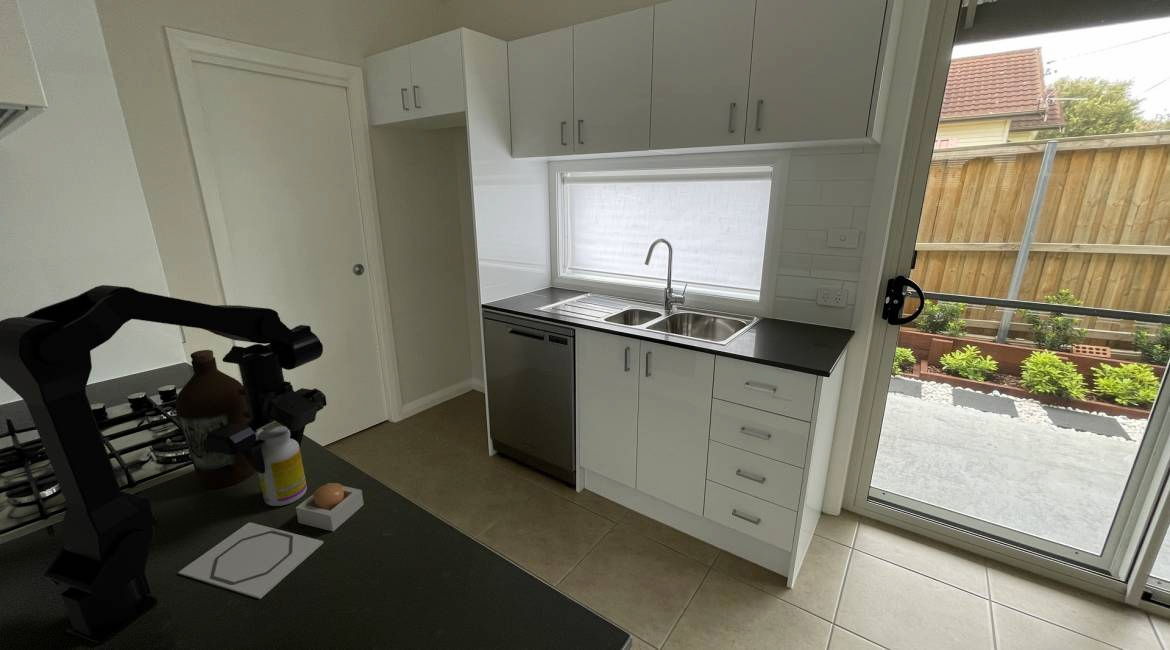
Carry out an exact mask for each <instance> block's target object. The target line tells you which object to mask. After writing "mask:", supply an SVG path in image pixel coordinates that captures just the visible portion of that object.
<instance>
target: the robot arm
mask: <svg viewBox="0 0 1170 650" xmlns="http://www.w3.org/2000/svg"><path fill="white" fill-rule="evenodd" d="M132 320H138V321H143V322H150V323H151V322H152V323H158V324H159V323H160V324H165V325H172V326H173V325H174V326H180V327H188V328H194V329H201V330H204V331H208V332H210V333H212V334H213V335H214V334H215V335H217V336H220V337H222V338H226V339H228V340H233V341H239V342H247V343H255V344H252V345H248V346H246V347H244V346H238V345H237V346H236V345H232V347H231V348H230V350H229V352H227V353H226V354H225V355H224V356H223V358H222V362H223V363H227V364H235V365H238V367H239V373H240V376H241V384H242V385H243V387H242V388H239V389H238V392H239V395H244V396H245V397H246V402H247V406H248V409H247V410H245V411H243V415H244V417H246V418H250V420H251V421H250V422H248V423H246V424H244V425H237V424H231V423H228V424H225V425H223V426H221V427H219V428H217V429H215V430H213V431H211V432H209V433H207V435H206V436H205V438H204V443H205V447H206V450H208V451H213V452H218V453H223V454H227V455H235V454H238V453H239V454H241V455H242V456H243V457H244V458H245V459H246V460H247V461H248V462H249V463H250V465H251V466H252V467H253V468H254V469H255V470H256V472H257V474H258V473H261V474H263V473H265V464H264V459H263V455H262V450H261V447H262V446H263V444H264V443H265V441H264V440H259V439H258V432H259V431H261V430H262V429H263V430H264V429H265V428H267V427H268V426H270V425H272V424H275V422H276V423H278V424H280V425H281V426H285V427H287V429H289V430H290V439H294V440H295V441H297V442H298V444H299V448H300V449H301V446H302V441H303V437H304V433H305V428H306V427H307V425H309V424H312V423H314V422H315V421H316V418H317V413H318V412H319V411H322V410H323V409H324V407H326V406H327V405H328V403H327V397H326V395H325V394H324V392H323V391H322V390H319V389H318V388H312V389H308V388H303V387H301V388H299V389H297V390H294V388H293V387H294V386H293V385H292V384H291V381H285V378H284V372H283V369H284V370H286V371H287V370H288V371H291V370H294V369H296V368H299V367H301V366H303V365H306V364H309V363H310V362H312V361H315V360H318V359H319V358H321V356H322V355H323V352H324V345H323V343H322V342H321V340H320V338H319V337H318V336H317V334H315V333H314V332H313V331H312V329H311V325H306V324H305V325H304V324H300V325H297V326H295V327H293V328H289V327H288V326H287V325H286V324H285V323H284V322H283V321H282V320H281V317H280V315H279V312H278V311H276V309H272V308H267V307H258V306H249V305H238V304H236V305H231V304H230V305H229V304H224V305H223V304H221V305H220V304H218V305H214V304H213V305H212V304H208V303H203V302H199V301H198V302H197V301H192V300H186V299H181V298H176V297H171V296H165V295H161V294H154V293H151V292H144V291H140V290H137V289H135V288H132V287H129V286H119V285H118V286H117V285H107V284H106V285H105V284H102V285H98V286H97V285H96V286H95V287H93V288H90V289H89V290H86V291H84V292H82V293H80V294H78V295H77V296H73V297H71V298H68V299H65V300H62V301H59V302H56V303H53V304H50V305H47V306H44V307H41V308H38V309H36V310H34V311H32V312H30V313H28V314H26V315H24V316H15V317H8V318H5V319H1V320H0V379H1V380H2V381H3V383H5V384H6V385H7V386H8V387H10V389H12V390H13V392H15V393H16V394H18V396H19V397H20V398H22V400H23V402H25V404H26V406H27V408H28V412H29V413H30V416H31V420H32V421H33V424H34V426H35V428H36V432H37V433H38V437H39V438H40V439H39V440H40V441H41V443H42V446H43V448H44V451H45V453H46V456H47V459H48V460H49V463H50V465H51V468H52V470H53V473H54V475H55V477H56V480H57V483H58V485H59V488H60V490H61V492H62V495H63V497H64V500H65V503H66V510H65V512H64V516H63V519H62V522H61V524H60V525H61V526H60V527H61V532H62V540H63V542H62V543H63V545H62V547H61V549H60V550H59V552H58V553H57V554H56V556H55V557H54V559H53V560H52V562H51V564H50V565H49V567H48V568H47V570H46V572H44V575H43V577H44V578H45V579H46V580H48V581H50V582H51V583H52V584H54V585H57V586H62V587H65V588H68V589H67V590H65V591H63V592H61V594H60V596H61V599H62V601H63V604H64V606H65V609H66V612H67V614H68V616H69V619H70V623H69V624H68V625H67V626H66V627H65V631H66V632H67V633H70V634H72V635H74V636H78V637H80V638H83V639H85V640H88V641H90V642H93V643H96V644H99V643H100V644H103V643H105V642H107V641H108V640H109V639H110V638H112V637H113V636H114V635H117V633H119V632H120V631H121V630H123V629H125V627H127V626H128V625H130V624H131V623H132V622H134V621H135V620H136V619H138V618H139V617H141V616H142V615H143V614H144V613H146V612H147V611H149V610H150V609H151V608H152V607H154V606H156V605H157V604H158V602H159V601H158V598H157V597H155V596H152V595H151V593H152V588H151V586H150V585H151V584H150V582H149V579H148V575H147V572H146V569H147V568H146V566H147V559H148V554H149V548H150V544H151V543H152V542H154V539H155V528H154V526H156V525H159V521H158V520H157V519H155V517H154V516H153V513H152V505H151V502H150V500H149V498H148V497H145V496H142V495H139V494H133V493H131V492H127V491H122V490H121V487H120V484H119V481H118V478H117V476H116V472H115V470H114V467H113V464H112V461H111V458H110V456H109V453H108V450H107V447H106V446H105V442H104V439H103V436H102V434H101V432H100V428H99V425H98V423H97V419H96V418H95V414H94V412H93V409H92V406H91V403H90V400H89V397H88V396H87V390H86V389H87V386H88V385H87V384H88V381H89V379H90V376H91V372H92V369H93V366H92V355H91V351H93V350H94V349H96V348H98V347H99V346H101V345H102V344H104V343H106V342H108V341H109V340H111V339H112V337H113V336H114V335H115V334H116V333H117V332H118V331H119V330H120V329H121V328H122V326H124V324H126V323H128V322H129V321H132ZM100 644H99V645H100Z"/></svg>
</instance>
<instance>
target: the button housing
mask: <svg viewBox="0 0 1170 650" xmlns="http://www.w3.org/2000/svg"><path fill="white" fill-rule="evenodd" d="M327 484H330V482H328V483H327ZM342 486H343V491H344V498H345V499H344V500H343V501H342V502H340V503H339V504H338V505H337V506H335V507H334V508H333V509H332V510H331V511H329V510H325V509H321V508H317V507H315V501H314V495H313V494H312V495H311V496H308V498H307V499H305V500H304V501H302V502H301V503H300V504H299V505H297V506H296V507H295V510H296V511H295V512H296V515H297V521H298V523H299V524H302V525H306V526H311V527H314V528H318V529H320V530H321V529H323V530H326V531H330V532H335V530H337V529H338V528H339V527H340V526H341V525H342V524H343V523H345V521H347V520H348V519H350V517H352V516H353V515H354V514H355V513H356V512H357V511H358V510H359V509H361V508H362V506H364V499H363V498H364V497H363V490H362V489H359V488H355V487H349V486H345V485H342Z"/></svg>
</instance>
